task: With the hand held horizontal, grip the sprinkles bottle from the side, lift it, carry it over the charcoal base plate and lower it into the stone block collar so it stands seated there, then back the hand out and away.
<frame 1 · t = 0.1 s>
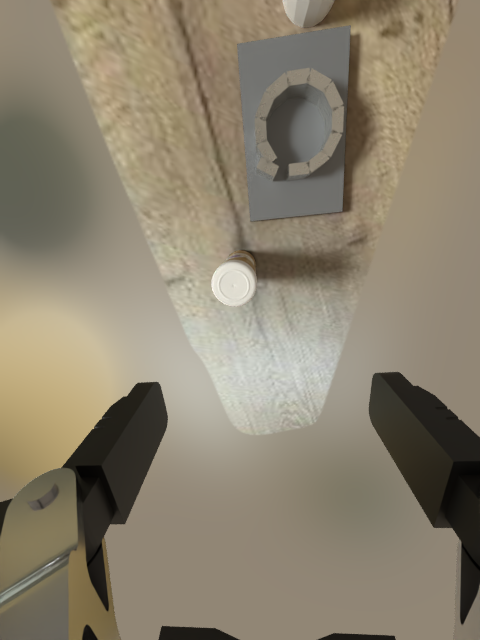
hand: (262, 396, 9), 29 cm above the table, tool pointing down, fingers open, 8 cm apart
sprinkles bottle: (240, 265, 37), on the table
stone block collar: (295, 130, 28), on the socket plate, point 2 cm above the table
socket plate: (292, 139, 31), on the table
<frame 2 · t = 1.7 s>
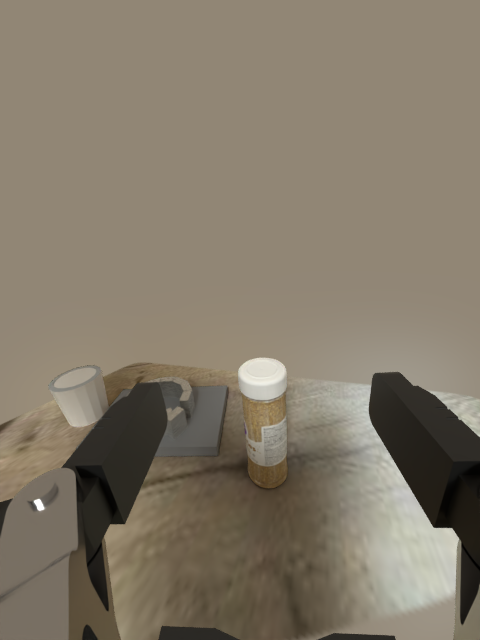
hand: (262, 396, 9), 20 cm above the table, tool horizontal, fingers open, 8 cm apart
sprinkles bottle: (268, 472, 28), on the table
white tapered cup: (90, 414, 39), on the table
stone block collar: (159, 404, 35), on the socket plate, point 3 cm above the table
socket plate: (163, 420, 36), on the table
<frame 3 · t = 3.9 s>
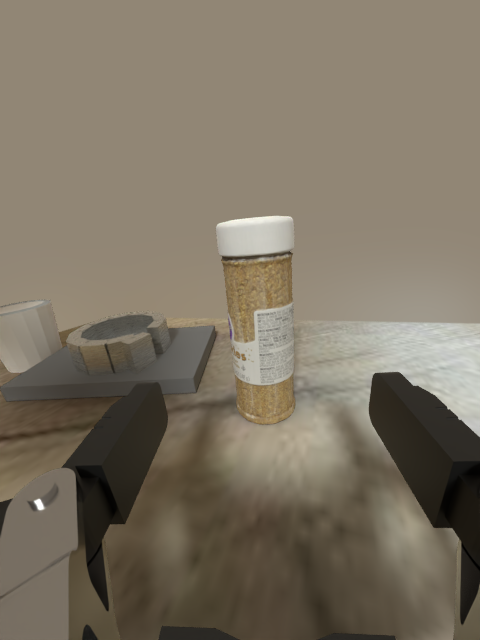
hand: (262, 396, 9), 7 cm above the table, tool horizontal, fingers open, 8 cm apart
sprinkles bottle: (266, 407, 19), on the table
white tapered cup: (38, 361, 31), on the table
stone block collar: (122, 338, 27), on the socket plate, point 3 cm above the table
socket plate: (129, 362, 28), on the table
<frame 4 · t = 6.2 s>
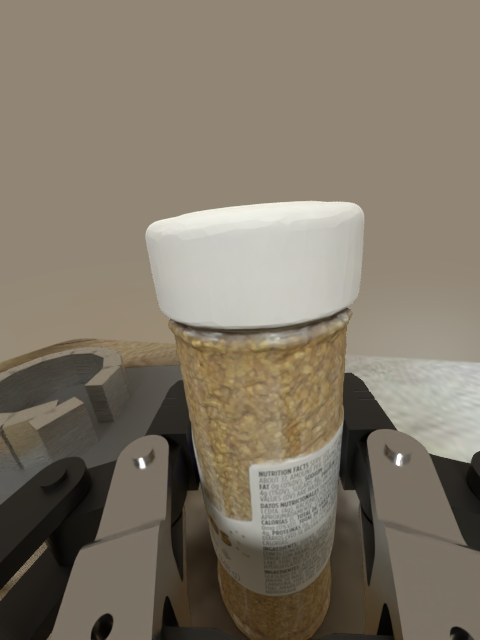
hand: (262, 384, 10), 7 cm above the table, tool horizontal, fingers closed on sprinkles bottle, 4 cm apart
sprinkles bottle: (274, 570, 10), on the table, touching gripper
stone block collar: (54, 396, 18), on the socket plate, point 2 cm above the table
socket plate: (69, 427, 19), on the table
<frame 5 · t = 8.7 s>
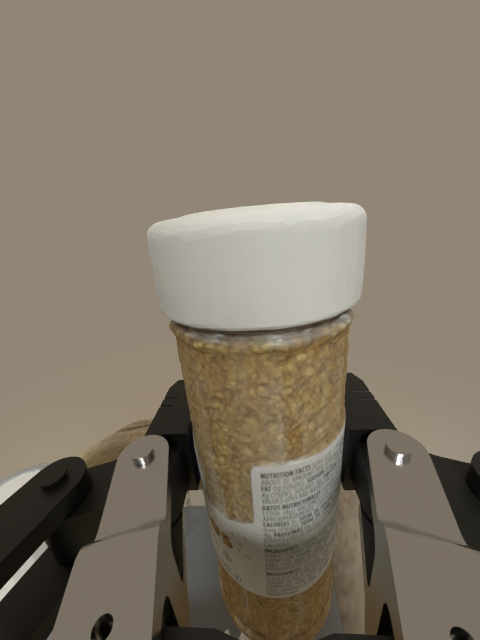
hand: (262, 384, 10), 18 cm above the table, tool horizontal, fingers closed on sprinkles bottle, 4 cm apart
sprinkles bottle: (275, 571, 10), point 10 cm above the table, touching gripper
white tapered cup: (48, 564, 20), on the table
stone block collar: (192, 581, 16), on the socket plate, point 2 cm above the table
socket plate: (199, 604, 17), on the table
when the fingers open (10 cm above the table, at t = 11.4 s): sprinkles bottle drops 1 cm, resting on socket plate.
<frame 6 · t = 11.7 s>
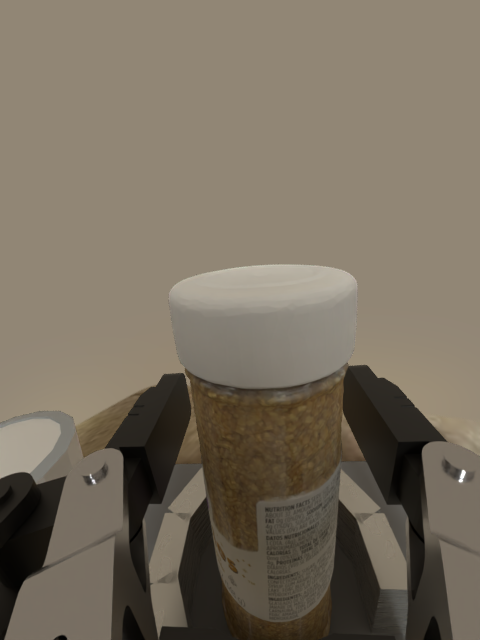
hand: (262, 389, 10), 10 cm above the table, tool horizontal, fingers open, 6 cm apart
sprinkles bottle: (276, 594, 10), point 1 cm above the table, touching socket plate
white tapered cup: (46, 550, 14), on the table
stone block collar: (274, 570, 10), on the socket plate, point 3 cm above the table
socket plate: (276, 606, 11), on the table
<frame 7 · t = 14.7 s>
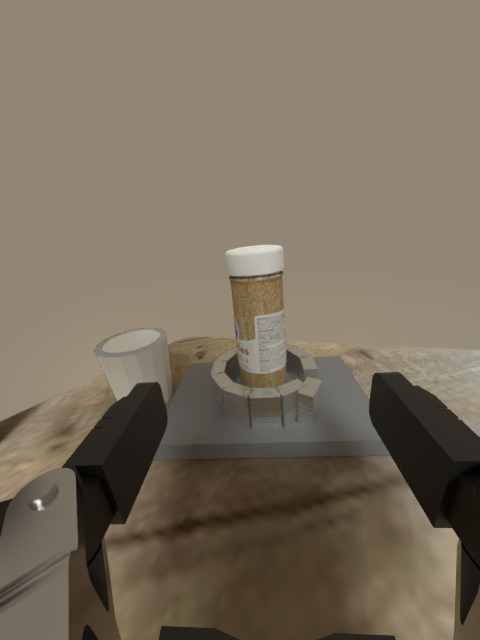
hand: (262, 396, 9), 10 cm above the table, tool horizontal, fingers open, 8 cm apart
sprinkles bottle: (265, 393, 24), point 1 cm above the table, touching socket plate
white tapered cup: (147, 398, 27), on the table
stone block collar: (263, 378, 23), on the socket plate, point 2 cm above the table
socket plate: (265, 404, 24), on the table
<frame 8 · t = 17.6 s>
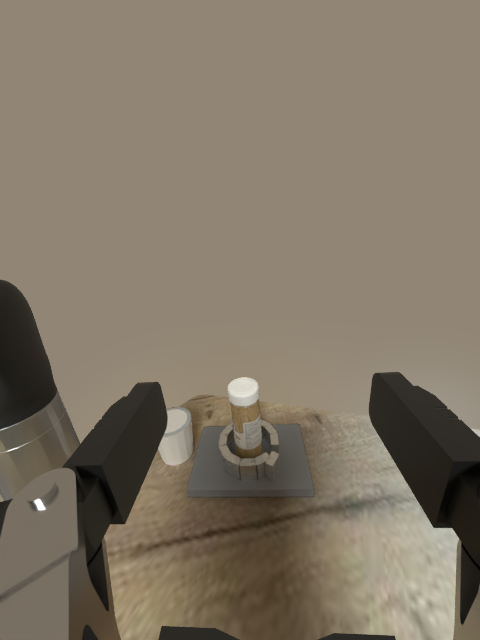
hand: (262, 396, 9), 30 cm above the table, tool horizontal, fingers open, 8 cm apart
sprinkles bottle: (250, 454, 40), point 1 cm above the table, touching socket plate
white tapered cup: (178, 451, 44), on the table
stone block collar: (249, 446, 40), on the socket plate, point 3 cm above the table
socket plate: (250, 459, 41), on the table
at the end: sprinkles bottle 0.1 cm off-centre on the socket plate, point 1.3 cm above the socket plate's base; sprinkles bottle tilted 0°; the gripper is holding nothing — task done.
